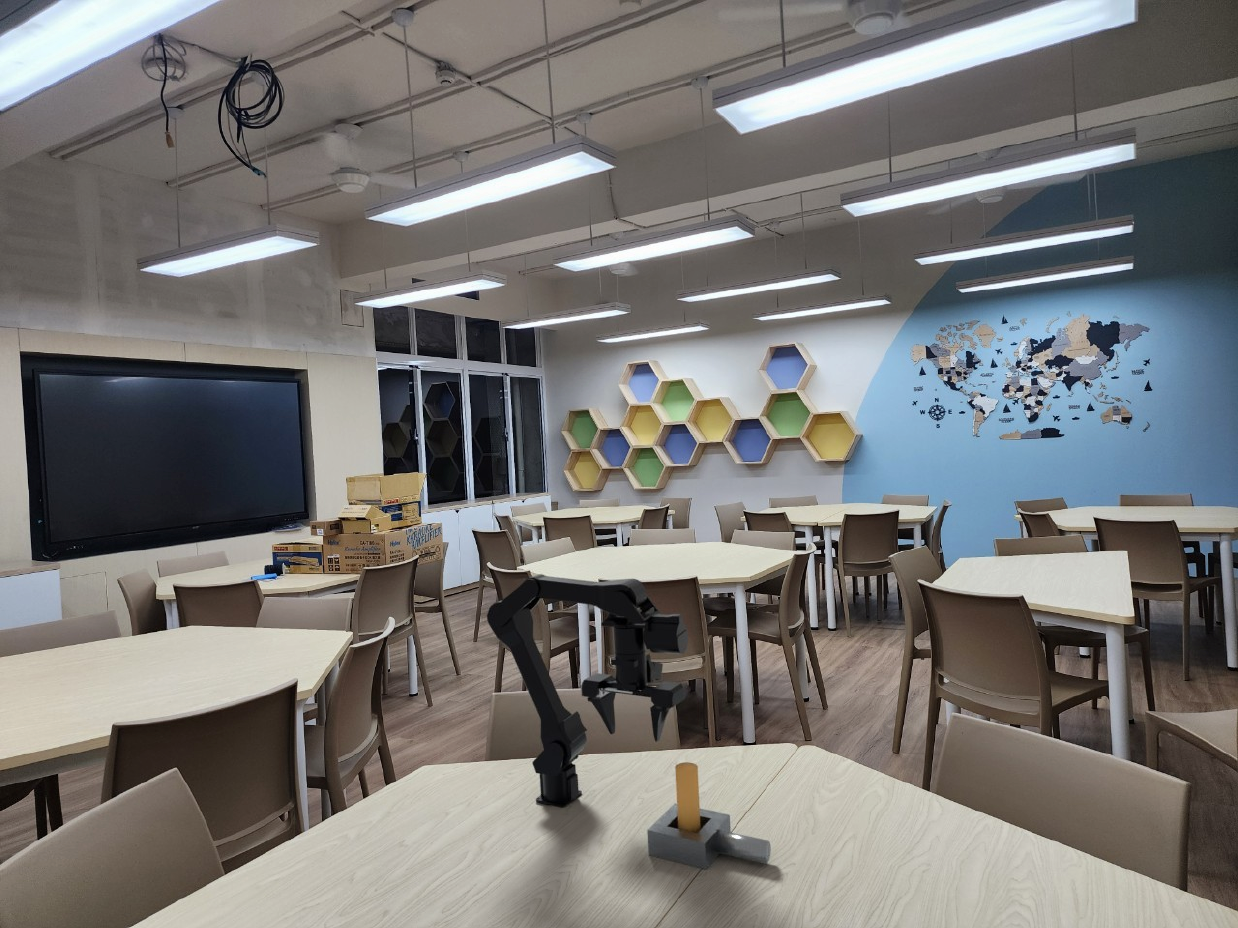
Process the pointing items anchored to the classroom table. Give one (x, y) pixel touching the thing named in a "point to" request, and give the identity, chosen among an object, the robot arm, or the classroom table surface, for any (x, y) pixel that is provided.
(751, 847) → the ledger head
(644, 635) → the robot arm
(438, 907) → the classroom table surface
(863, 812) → the classroom table surface
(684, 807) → the orange cylinder
